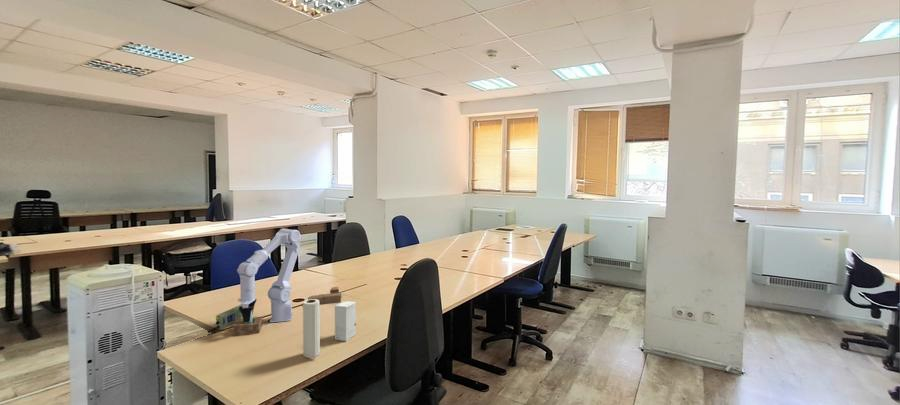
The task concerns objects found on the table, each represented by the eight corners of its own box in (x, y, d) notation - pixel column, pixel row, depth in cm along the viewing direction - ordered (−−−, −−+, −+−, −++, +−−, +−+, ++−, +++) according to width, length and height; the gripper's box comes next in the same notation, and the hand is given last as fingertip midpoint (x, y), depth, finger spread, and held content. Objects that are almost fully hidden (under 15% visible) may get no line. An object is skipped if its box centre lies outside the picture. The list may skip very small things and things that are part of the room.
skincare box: (346, 341, 164) (346, 307, 164) (333, 339, 166) (333, 305, 165) (356, 334, 172) (356, 301, 172) (344, 332, 174) (344, 299, 173)
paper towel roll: (307, 350, 155) (306, 298, 154) (322, 351, 155) (321, 298, 154) (299, 359, 148) (299, 304, 147) (315, 359, 148) (314, 304, 147)
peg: (253, 328, 178) (252, 309, 177) (251, 331, 174) (251, 311, 174) (244, 329, 176) (244, 309, 176) (243, 332, 173) (243, 312, 173)
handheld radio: (250, 315, 195) (212, 334, 170) (245, 315, 195) (205, 334, 171) (250, 302, 194) (211, 319, 170) (244, 302, 195) (204, 319, 170)
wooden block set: (342, 293, 216) (307, 296, 210) (342, 303, 216) (308, 306, 210) (339, 285, 232) (307, 287, 226) (339, 294, 232) (307, 297, 226)
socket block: (262, 324, 182) (262, 316, 181) (259, 333, 172) (259, 324, 172) (238, 327, 178) (237, 318, 178) (233, 335, 169) (233, 326, 169)
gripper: (240, 285, 180) (241, 314, 181) (234, 294, 166) (235, 325, 167) (257, 284, 182) (258, 312, 183) (252, 293, 168) (253, 323, 169)
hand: (248, 318), depth 175 cm, fingers open, 7 cm apart
